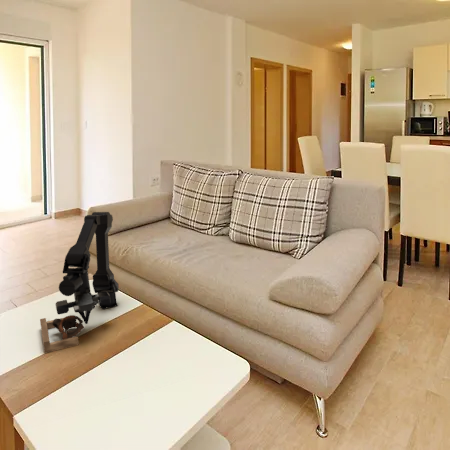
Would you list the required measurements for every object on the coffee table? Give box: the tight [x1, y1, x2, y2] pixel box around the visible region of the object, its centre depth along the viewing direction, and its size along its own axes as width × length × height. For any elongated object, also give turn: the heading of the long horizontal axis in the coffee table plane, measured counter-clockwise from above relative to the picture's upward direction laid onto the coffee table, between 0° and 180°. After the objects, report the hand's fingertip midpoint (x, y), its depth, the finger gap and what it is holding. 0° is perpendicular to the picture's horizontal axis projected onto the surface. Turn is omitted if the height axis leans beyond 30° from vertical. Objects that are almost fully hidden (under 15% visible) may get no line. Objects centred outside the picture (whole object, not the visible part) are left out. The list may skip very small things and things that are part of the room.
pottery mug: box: [52, 314, 85, 340], centre depth 152 cm, size 12×10×8 cm
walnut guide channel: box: [39, 317, 80, 354], centre depth 152 cm, size 11×19×4 cm, turn 26°
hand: (86, 323), depth 156 cm, fingers closed
